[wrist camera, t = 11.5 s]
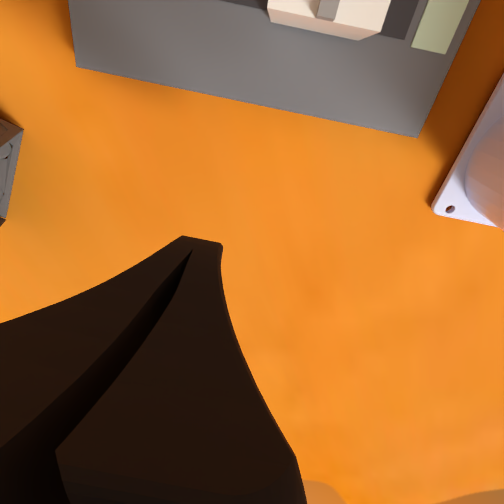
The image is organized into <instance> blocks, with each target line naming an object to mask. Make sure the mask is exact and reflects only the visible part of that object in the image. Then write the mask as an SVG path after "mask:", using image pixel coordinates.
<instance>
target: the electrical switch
mask: <svg viewBox="0 0 504 504" xmlns="http://www.w3.org/2000/svg"><path fill="white" fill-rule="evenodd" d="M23 130H24V129H22V128H20V127H18V126H16V125H13V124H11V123H9V122H7V121H5V120H2V119H0V226H1V225H2V224H3V223H4V222H5V220H6V219H4V218H6V215H7V210H8V205H9V200H10V195H11V190H12V185H13V180H14V175H15V170H16V165H17V160H18V155H19V150H20V145H21V139H22V134H23ZM10 144H11V145H12V148H11V146H10ZM8 155H9V156H8ZM7 156H8V158H7V159H4V158H6V157H7ZM3 193H4V195H3ZM1 217H4V218H1Z"/></svg>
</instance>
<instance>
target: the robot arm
mask: <svg viewBox="0 0 504 504" xmlns="http://www.w3.org/2000/svg"><path fill="white" fill-rule="evenodd" d="M450 205H452V207H451V209H450V210H448V211H445V210H446V208H447V207H448V206H450ZM431 210H432V211H433V212H434V213H435V214H437V215H441V216H446V217H451V218H456V219H460V220H465V221H470V222H475V223H480V224H485V225H490V226H495V227H499V228H500V229H502V230H503V231H504V73H503V75H502V77H501V79H500V80H499V82H498V84H497V86H496V88H495V90H494V91H493V93H492V95H491V97H490V99H489V101H488V102H487V104H486V106H485V108H484V110H483V111H482V113H481V115H480V117H479V119H478V121H477V122H476V124H475V126H474V128H473V130H472V132H471V133H470V135H469V137H468V139H467V141H466V142H465V144H464V146H463V148H462V150H461V152H460V153H459V155H458V157H457V159H456V161H455V163H454V164H453V166H452V168H451V170H450V172H449V173H448V175H447V177H446V179H445V181H444V183H443V184H442V186H441V188H440V190H439V192H438V194H437V195H436V197H435V199H434V201H433V203H432V205H431ZM222 252H223V246H222V245H221V243H218V242H213V241H208V240H203V239H198V238H193V237H188V236H183V235H182V236H181V237H179V238H177V239H176V240H174V241H173V242H171V243H170V244H168V245H166V246H165V247H163V248H162V249H160V250H159V251H157V252H156V253H154V254H153V255H151V256H149V257H148V258H146V259H145V260H143V261H141V262H140V263H138V264H137V265H135V266H133V267H131V268H129V269H128V270H126V271H124V272H122V273H120V274H119V275H117V276H115V277H113V278H111V279H109V280H108V281H106V282H104V283H102V284H99V285H97V286H95V287H93V288H91V289H89V290H87V291H84V292H82V293H80V294H78V295H75V296H73V297H71V298H68V299H66V300H64V301H61V302H58V303H56V304H53V305H50V306H48V307H45V308H42V309H40V310H37V311H34V312H32V313H29V314H26V315H23V316H21V317H18V318H15V319H12V320H9V321H6V322H3V323H0V504H307V501H306V496H305V491H304V486H303V482H302V478H301V474H300V470H299V466H298V463H297V459H296V456H295V454H294V452H293V450H292V449H291V447H290V445H289V444H288V442H287V440H286V439H285V437H284V435H283V433H282V432H281V430H280V428H279V426H278V425H277V423H276V421H275V419H274V417H273V416H272V414H271V412H270V410H269V408H268V406H267V404H266V403H265V401H264V399H263V397H262V395H261V393H260V391H259V389H258V387H257V385H256V383H255V380H254V378H253V376H252V374H251V371H250V369H249V367H248V365H247V362H246V360H245V358H244V356H243V353H242V351H241V348H240V346H239V343H238V340H237V338H236V335H235V332H234V329H233V326H232V323H231V319H230V316H229V312H228V308H227V304H226V300H225V295H224V290H223V284H222V276H221V258H222Z"/></svg>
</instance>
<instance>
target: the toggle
mask: <svg viewBox="0 0 504 504" xmlns="http://www.w3.org/2000/svg"><path fill="white" fill-rule="evenodd" d="M390 2H391V0H268V5H267V10H268V13H269V17H270V20H271V22H273V23H277V24H282V25H287V26H291V27H296V28H301V29H306V30H310V31H315V32H320V33H324V34H329V35H334V36H338V37H343V38H348V39H352V40H357V41H359V40H361V39H364V38H366V37H369V36H372V35H374V34H377V33H379V32H381V29H382V26H383V23H384V20H385V17H386V14H387V11H388V8H389V5H390Z"/></svg>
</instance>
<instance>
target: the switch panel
mask: <svg viewBox="0 0 504 504" xmlns="http://www.w3.org/2000/svg"><path fill="white" fill-rule="evenodd" d="M480 1H481V0H391V2H390V5H389V8H388V11H387V14H386V17H385V20H384V23H383V26H382V29H381V32H379V33H377V34H374V35H372V36H369V37H366V38H364V39H361V40H359V41H357V40H352V39H348V38H343V37H338V36H334V35H329V34H324V33H320V32H315V31H310V30H306V29H301V28H296V27H291V26H287V25H282V24H277V23H273V22H271V20H270V17H269V13H268V10H267V5H268V0H68V4H69V12H70V20H71V28H72V36H73V44H74V52H75V60H76V67H79V68H84V69H89V70H94V71H99V72H103V73H108V74H113V75H118V76H122V77H127V78H132V79H137V80H142V81H146V82H151V83H156V84H161V85H166V86H170V87H175V88H180V89H185V90H189V91H194V92H199V93H204V94H209V95H213V96H218V97H223V98H228V99H233V100H237V101H242V102H247V103H252V104H256V105H261V106H266V107H271V108H276V109H280V110H285V111H290V112H295V113H299V114H304V115H309V116H314V117H319V118H323V119H328V120H333V121H338V122H343V123H347V124H352V125H357V126H362V127H366V128H371V129H376V130H381V131H386V132H390V133H395V134H400V135H405V136H409V137H414V138H418V136H419V134H420V131H421V129H422V127H423V125H424V123H425V121H426V118H427V116H428V114H429V112H430V110H431V108H432V105H433V103H434V101H435V99H436V97H437V94H438V92H439V90H440V88H441V86H442V84H443V81H444V79H445V77H446V75H447V73H448V71H449V68H450V66H451V64H452V62H453V60H454V58H455V55H456V53H457V51H458V49H459V47H460V44H461V42H462V40H463V38H464V36H465V34H466V31H467V29H468V27H469V25H470V23H471V21H472V18H473V16H474V14H475V12H476V10H477V7H478V5H479V3H480Z"/></svg>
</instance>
